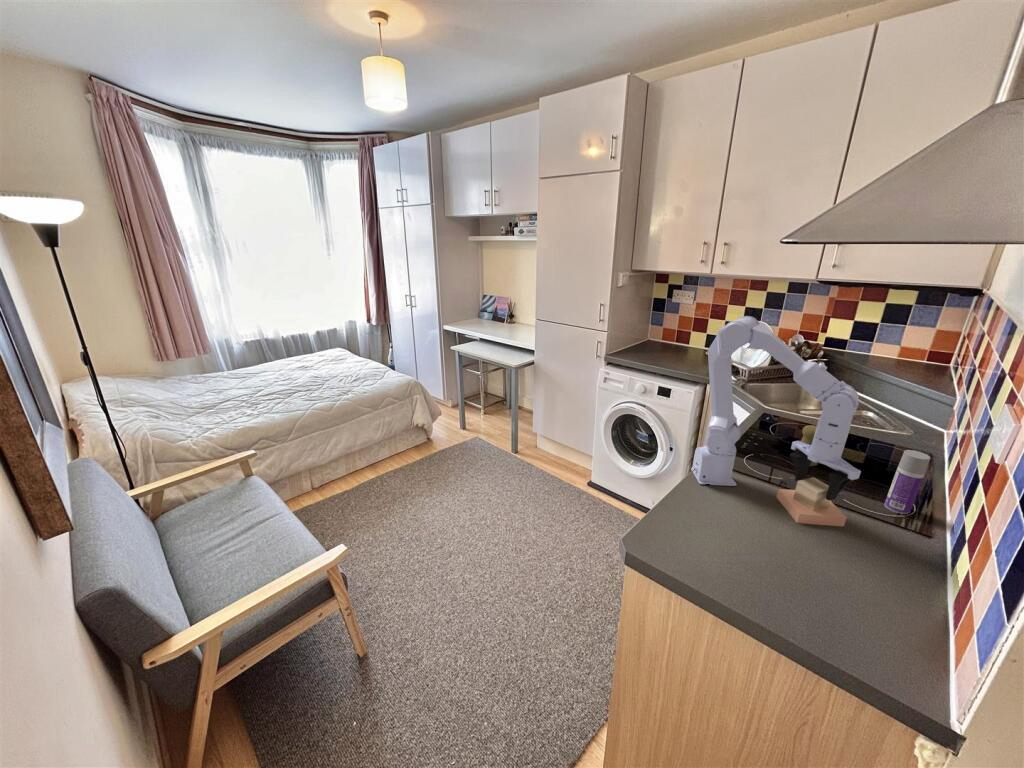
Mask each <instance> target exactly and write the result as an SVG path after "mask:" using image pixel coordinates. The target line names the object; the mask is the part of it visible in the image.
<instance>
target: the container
mask: <svg viewBox="0 0 1024 768" xmlns="http://www.w3.org/2000/svg"><path fill="white" fill-rule="evenodd" d="M930 460H931V456H930V455H928V454H927V453H924V452H922V451H919V450H914V449H912V450H911V449H905V450H904V451H903V453H902V456H901V459H900V461H899V463H898V465H897V468H896V471H895V474H894V476H893V479H892V482H891V485H890V488H889V490H888V493H887V495H886V499H885V501H884V504H883V505H884V507H885V508H886V509H887V510H889V511H890V512H892V513H896V514H898V513H900V515H903V514H907V515H909V514H910V513H911V511H912V508H913V505H914V504H915V501H916V498H917V496H918V492H919V490H920V487H921V485H922V483H923V480H924V478H925V474H926V472H927V469H928V465H929V464H930ZM908 513H909V514H908Z"/></svg>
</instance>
